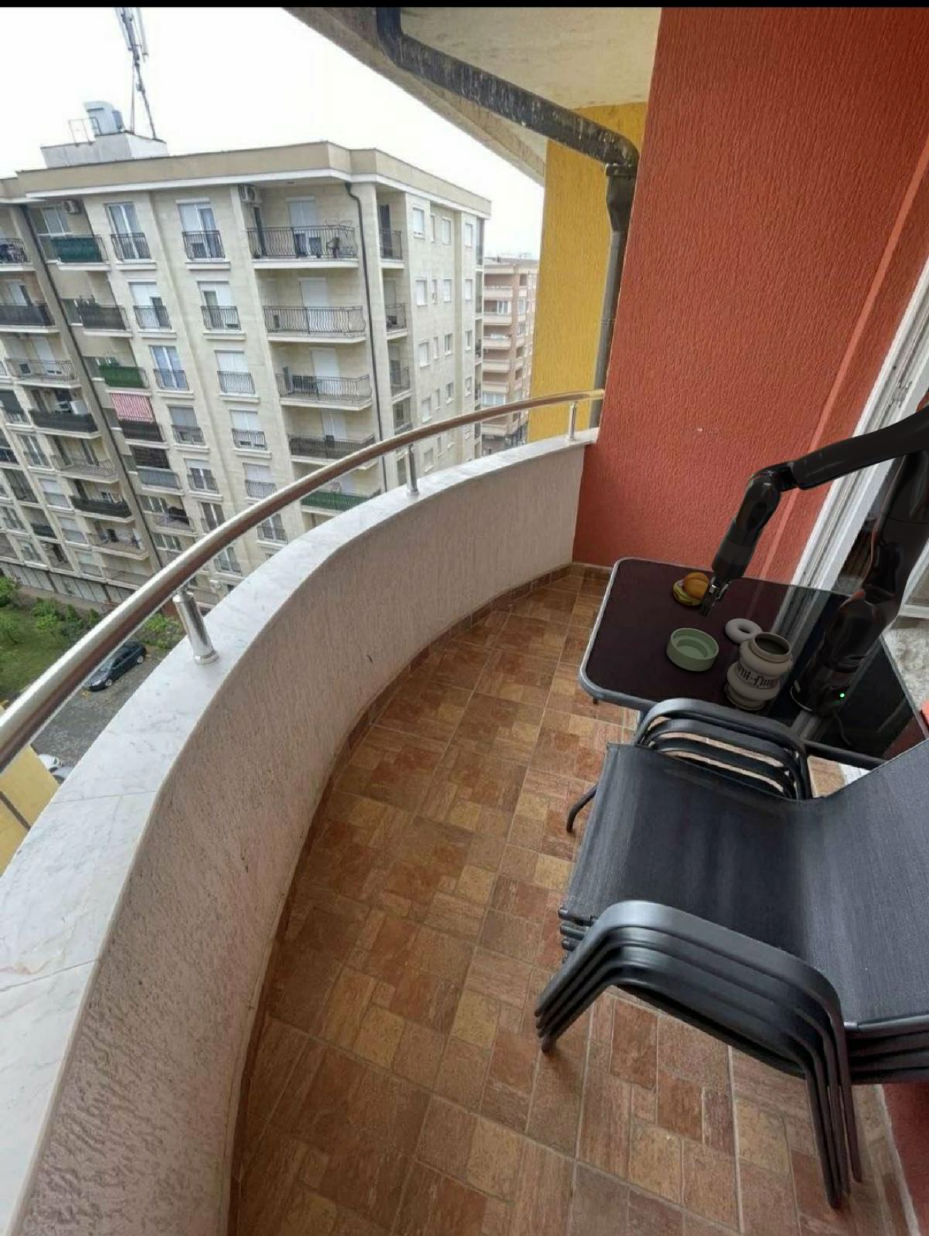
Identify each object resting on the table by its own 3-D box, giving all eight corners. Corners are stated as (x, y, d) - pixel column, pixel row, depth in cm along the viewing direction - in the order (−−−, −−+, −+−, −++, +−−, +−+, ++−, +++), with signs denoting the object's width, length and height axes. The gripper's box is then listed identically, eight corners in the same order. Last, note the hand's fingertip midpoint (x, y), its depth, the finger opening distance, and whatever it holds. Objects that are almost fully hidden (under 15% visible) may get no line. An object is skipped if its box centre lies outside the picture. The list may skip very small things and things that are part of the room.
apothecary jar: (711, 678, 143) (736, 626, 131) (755, 677, 144) (784, 625, 132) (732, 714, 134) (761, 662, 122) (779, 713, 135) (812, 661, 123)
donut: (726, 645, 153) (764, 650, 152) (730, 636, 151) (768, 641, 150) (720, 622, 161) (756, 627, 159) (724, 613, 159) (761, 618, 157)
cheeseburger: (688, 583, 175) (704, 562, 167) (708, 609, 169) (726, 588, 161) (663, 590, 171) (678, 568, 163) (683, 616, 166) (699, 595, 158)
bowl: (722, 667, 146) (728, 654, 143) (683, 676, 143) (689, 663, 140) (693, 637, 155) (699, 624, 152) (656, 646, 152) (661, 632, 149)
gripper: (738, 574, 122) (712, 628, 133) (761, 549, 130) (735, 602, 141) (706, 559, 126) (683, 613, 136) (730, 536, 134) (707, 589, 145)
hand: (710, 607), depth 139 cm, fingers open, 8 cm apart
